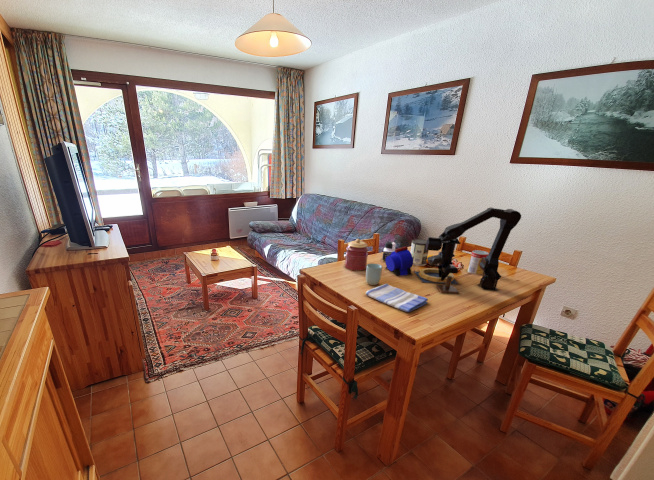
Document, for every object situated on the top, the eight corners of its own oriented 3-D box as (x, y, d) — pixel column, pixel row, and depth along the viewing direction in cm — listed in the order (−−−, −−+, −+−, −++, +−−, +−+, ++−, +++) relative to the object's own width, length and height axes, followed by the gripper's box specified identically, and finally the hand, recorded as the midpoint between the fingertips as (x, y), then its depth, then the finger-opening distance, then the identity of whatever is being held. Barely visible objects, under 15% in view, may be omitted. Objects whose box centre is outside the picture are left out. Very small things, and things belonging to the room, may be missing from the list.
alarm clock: (412, 274, 175) (417, 249, 169) (393, 276, 173) (397, 250, 167) (399, 267, 186) (403, 243, 180) (381, 269, 183) (385, 244, 178)
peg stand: (451, 287, 158) (455, 273, 156) (458, 294, 151) (461, 280, 148) (435, 286, 159) (438, 273, 156) (441, 293, 152) (444, 279, 149)
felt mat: (446, 273, 177) (446, 272, 177) (458, 284, 162) (458, 283, 162) (414, 271, 179) (414, 271, 179) (422, 282, 164) (422, 282, 164)
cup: (380, 287, 159) (383, 269, 155) (365, 286, 160) (367, 267, 156) (379, 281, 166) (381, 263, 162) (364, 280, 167) (366, 262, 163)
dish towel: (385, 286, 159) (386, 281, 158) (429, 303, 142) (430, 298, 141) (363, 295, 150) (364, 290, 148) (407, 314, 132) (408, 308, 131)
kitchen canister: (349, 262, 195) (352, 234, 188) (369, 266, 188) (373, 238, 181) (340, 268, 185) (343, 239, 178) (361, 272, 178) (364, 242, 171)
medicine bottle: (381, 261, 196) (384, 243, 191) (382, 258, 202) (385, 240, 197) (393, 262, 193) (396, 244, 189) (394, 259, 200) (397, 241, 195)
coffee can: (421, 260, 198) (426, 239, 192) (428, 266, 188) (433, 243, 183) (405, 260, 198) (409, 239, 192) (411, 265, 188) (415, 243, 183)
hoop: (446, 272, 177) (447, 268, 176) (458, 283, 161) (459, 279, 160) (415, 270, 179) (416, 267, 178) (424, 281, 163) (425, 278, 162)
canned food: (485, 272, 178) (491, 252, 173) (479, 275, 174) (484, 255, 169) (471, 268, 184) (476, 249, 179) (464, 271, 180) (469, 251, 175)
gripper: (425, 245, 166) (420, 272, 172) (437, 256, 149) (431, 286, 155) (446, 246, 165) (441, 273, 171) (461, 257, 148) (454, 287, 154)
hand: (441, 279), depth 163 cm, fingers closed on hoop, 2 cm apart
